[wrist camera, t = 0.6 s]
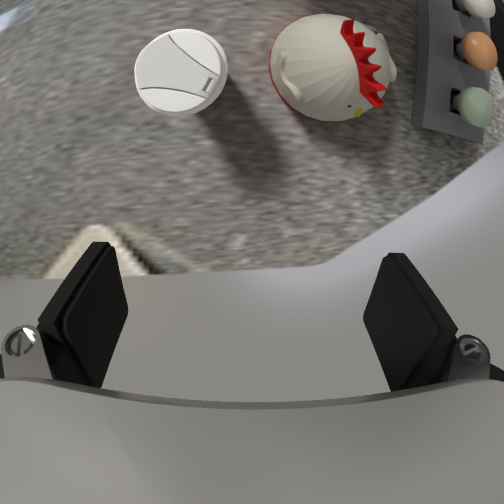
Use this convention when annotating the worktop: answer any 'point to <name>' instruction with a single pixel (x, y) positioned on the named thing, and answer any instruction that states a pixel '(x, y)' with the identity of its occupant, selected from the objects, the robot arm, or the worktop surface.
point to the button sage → (474, 106)
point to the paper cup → (181, 72)
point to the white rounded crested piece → (331, 67)
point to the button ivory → (477, 7)
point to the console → (445, 68)
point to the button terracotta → (478, 50)
